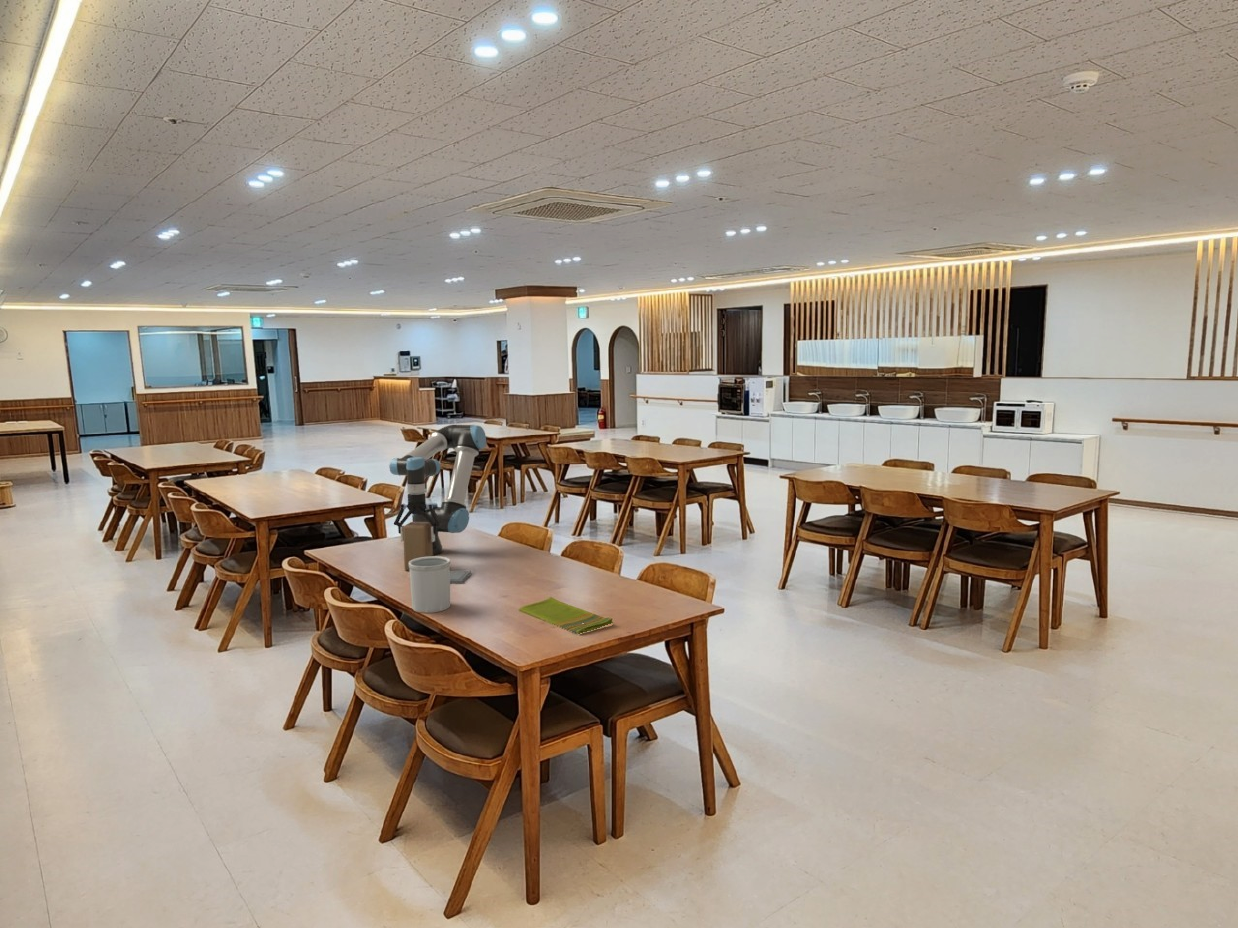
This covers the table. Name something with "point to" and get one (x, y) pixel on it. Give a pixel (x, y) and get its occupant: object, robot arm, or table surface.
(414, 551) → the wooden block
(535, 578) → the table surface
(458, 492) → the robot arm
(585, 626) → the dish towel
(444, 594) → the utensil holder
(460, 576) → the plate
